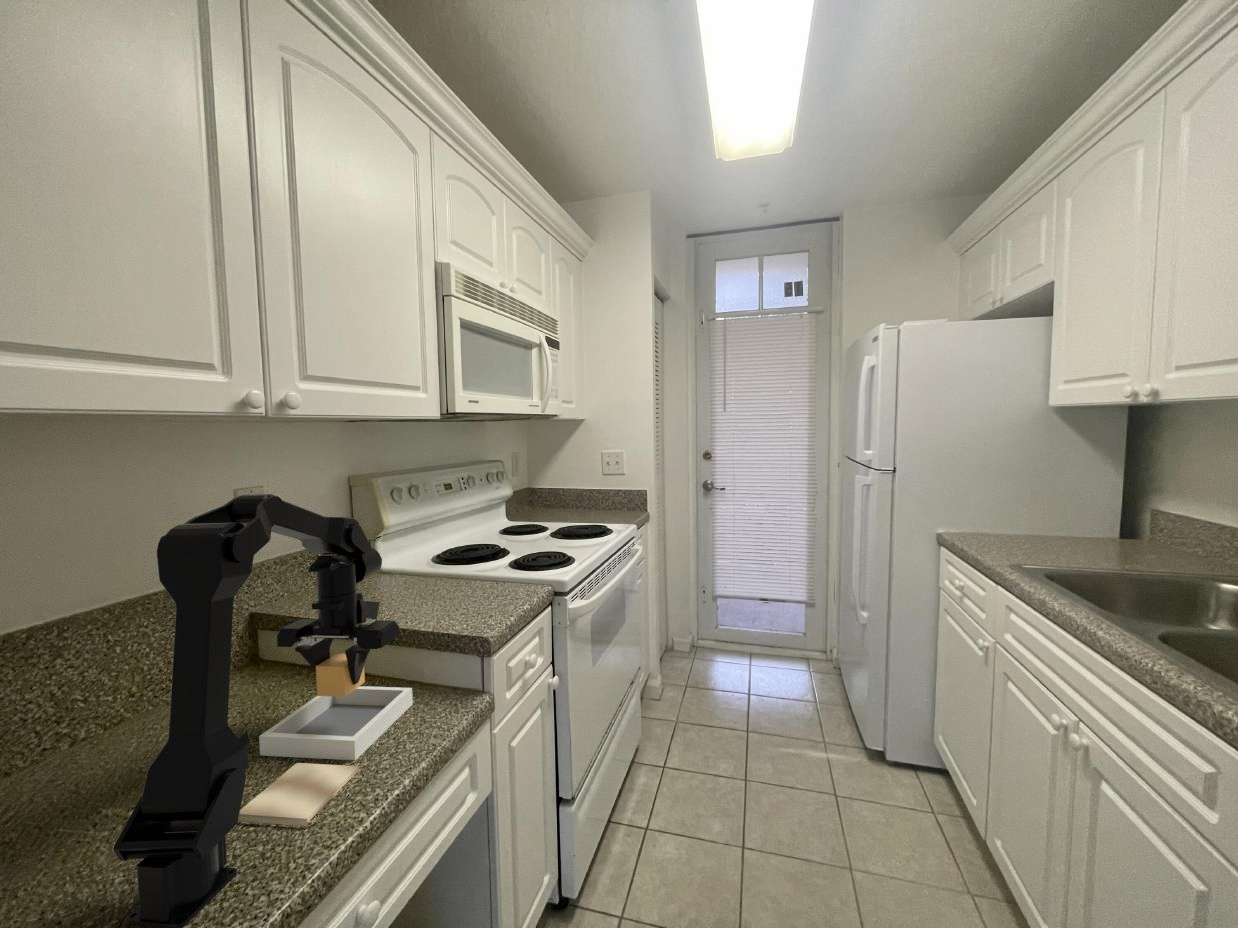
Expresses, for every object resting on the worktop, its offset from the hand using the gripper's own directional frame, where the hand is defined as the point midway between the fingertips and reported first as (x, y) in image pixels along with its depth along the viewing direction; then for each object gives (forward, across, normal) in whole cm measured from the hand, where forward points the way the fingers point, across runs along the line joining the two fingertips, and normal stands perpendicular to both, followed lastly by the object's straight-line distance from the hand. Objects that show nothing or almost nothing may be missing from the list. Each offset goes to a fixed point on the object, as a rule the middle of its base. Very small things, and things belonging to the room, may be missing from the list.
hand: (341, 682), depth 81 cm
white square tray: (+8, 0, 0) cm, 8 cm away
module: (+1, 0, 0) cm, 1 cm away
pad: (+8, -5, +15) cm, 18 cm away
